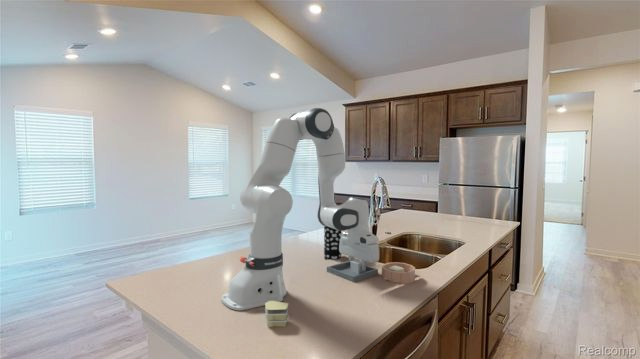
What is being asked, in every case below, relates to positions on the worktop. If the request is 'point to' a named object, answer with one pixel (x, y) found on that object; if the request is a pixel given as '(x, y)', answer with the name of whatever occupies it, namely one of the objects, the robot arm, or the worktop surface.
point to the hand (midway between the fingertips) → (358, 268)
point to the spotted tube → (331, 243)
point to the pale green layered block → (276, 313)
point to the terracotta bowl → (399, 273)
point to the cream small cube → (396, 269)
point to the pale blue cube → (356, 266)
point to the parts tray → (351, 272)
